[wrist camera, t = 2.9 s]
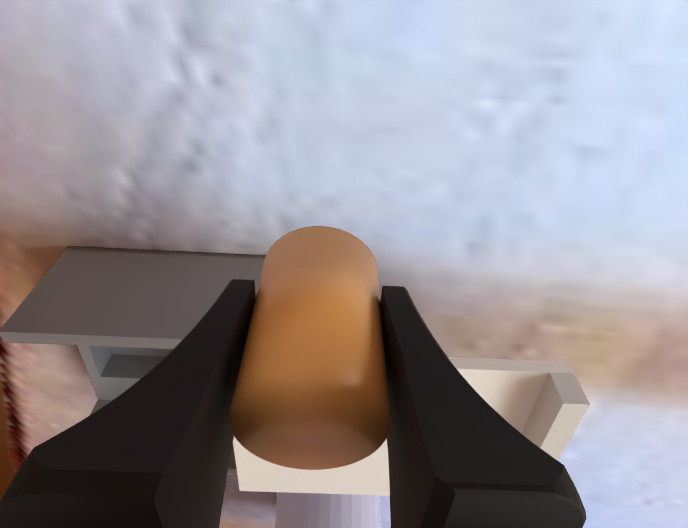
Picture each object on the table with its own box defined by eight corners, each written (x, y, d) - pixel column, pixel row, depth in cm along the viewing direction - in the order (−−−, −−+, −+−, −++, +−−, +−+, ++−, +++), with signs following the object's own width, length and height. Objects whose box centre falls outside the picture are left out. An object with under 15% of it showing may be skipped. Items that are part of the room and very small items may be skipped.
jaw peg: (372, 319, 16) (382, 472, 12) (265, 314, 16) (235, 467, 12) (383, 229, 14) (400, 375, 10) (260, 223, 14) (221, 367, 10)
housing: (338, 387, 30) (337, 478, 26) (113, 379, 30) (69, 469, 25) (348, 259, 25) (349, 346, 20) (67, 246, 24) (-2, 331, 19)
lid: (507, 488, 26) (518, 529, 24) (241, 479, 25) (234, 520, 24) (568, 362, 20) (589, 404, 18) (224, 348, 19) (212, 390, 18)
